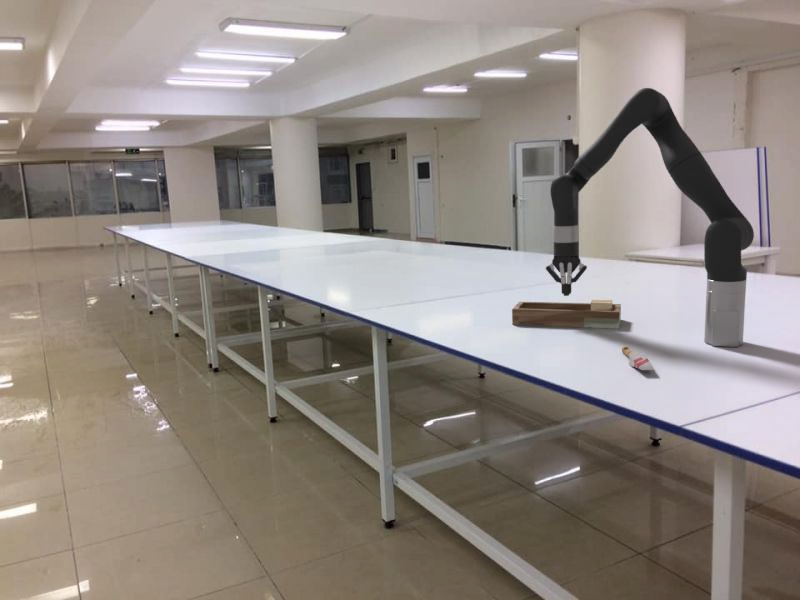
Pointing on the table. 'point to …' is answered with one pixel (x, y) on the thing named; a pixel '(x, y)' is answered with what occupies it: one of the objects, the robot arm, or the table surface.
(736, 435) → the table surface
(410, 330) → the table surface
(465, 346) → the table surface
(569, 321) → the box
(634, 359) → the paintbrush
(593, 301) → the beech block
